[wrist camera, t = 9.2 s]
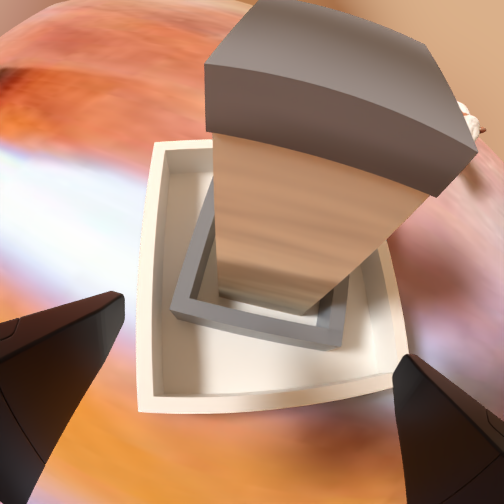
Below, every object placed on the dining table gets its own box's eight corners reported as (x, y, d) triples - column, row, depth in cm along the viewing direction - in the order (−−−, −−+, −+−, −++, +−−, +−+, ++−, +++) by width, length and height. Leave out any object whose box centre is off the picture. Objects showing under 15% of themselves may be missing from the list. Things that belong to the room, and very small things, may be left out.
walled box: (381, 383, 16) (411, 382, 13) (154, 405, 15) (138, 411, 12) (341, 174, 23) (356, 145, 19) (162, 174, 21) (154, 142, 18)
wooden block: (301, 318, 17) (478, 152, 4) (216, 298, 17) (204, 63, 4) (314, 242, 19) (424, 44, 6) (237, 223, 19) (264, -6, 6)
